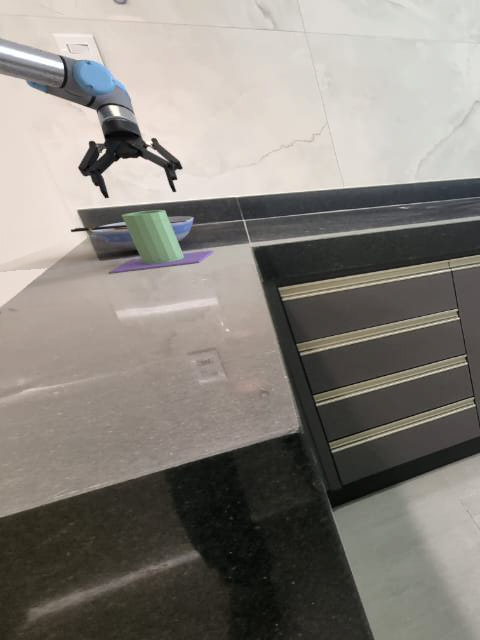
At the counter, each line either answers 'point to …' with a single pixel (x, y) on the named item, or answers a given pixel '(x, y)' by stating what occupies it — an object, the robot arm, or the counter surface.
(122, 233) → the ramen bowl
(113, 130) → the robot arm
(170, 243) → the green faceted cylinder
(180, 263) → the towel
